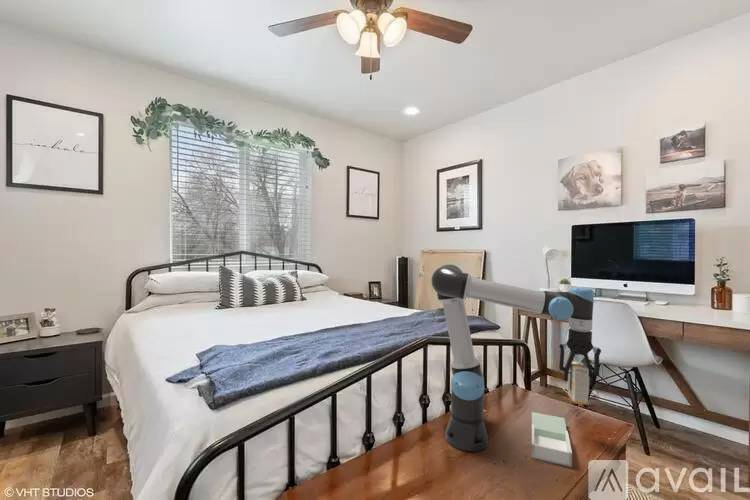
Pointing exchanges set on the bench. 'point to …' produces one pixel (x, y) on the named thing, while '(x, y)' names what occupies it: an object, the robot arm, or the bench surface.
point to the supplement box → (579, 383)
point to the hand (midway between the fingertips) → (577, 391)
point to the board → (549, 426)
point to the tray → (552, 449)
